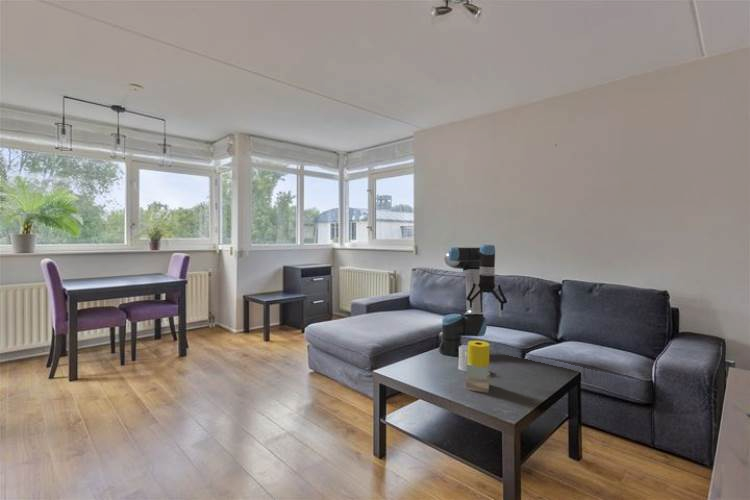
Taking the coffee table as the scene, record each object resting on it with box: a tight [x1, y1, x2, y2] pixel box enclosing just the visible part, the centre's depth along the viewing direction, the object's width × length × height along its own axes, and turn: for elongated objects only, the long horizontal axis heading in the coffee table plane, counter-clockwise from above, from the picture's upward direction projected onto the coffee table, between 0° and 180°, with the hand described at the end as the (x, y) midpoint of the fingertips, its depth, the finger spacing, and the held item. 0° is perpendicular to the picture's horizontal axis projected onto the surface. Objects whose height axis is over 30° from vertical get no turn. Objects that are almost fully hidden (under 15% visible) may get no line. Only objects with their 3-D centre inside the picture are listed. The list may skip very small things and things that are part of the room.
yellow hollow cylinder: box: [467, 340, 490, 367], centre depth 179 cm, size 10×10×9 cm
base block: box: [465, 372, 491, 394], centre depth 179 cm, size 10×10×6 cm
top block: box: [466, 363, 490, 380], centre depth 179 cm, size 9×9×6 cm
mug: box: [457, 344, 468, 373], centre depth 201 cm, size 12×8×12 cm
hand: (486, 315), depth 193 cm, fingers open, 13 cm apart
